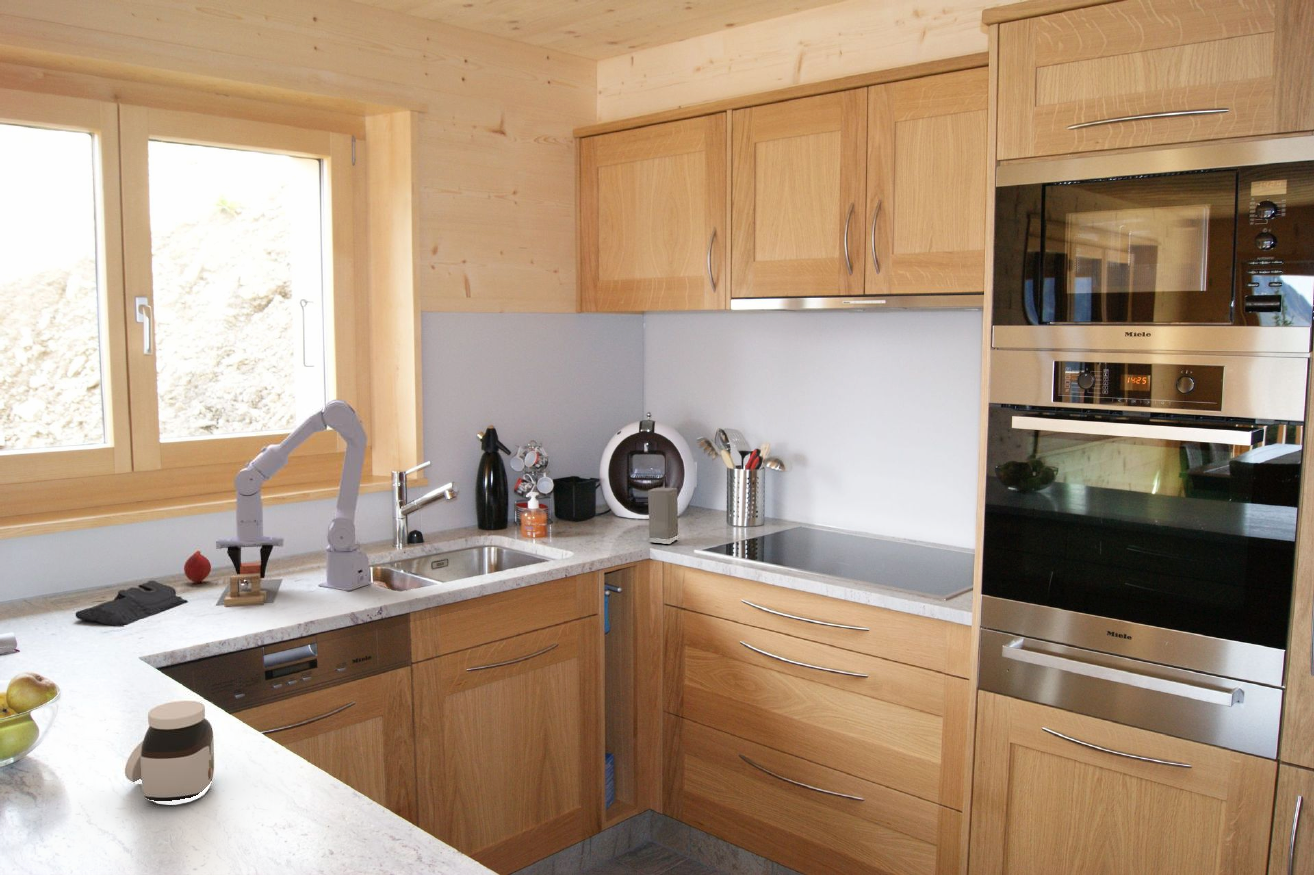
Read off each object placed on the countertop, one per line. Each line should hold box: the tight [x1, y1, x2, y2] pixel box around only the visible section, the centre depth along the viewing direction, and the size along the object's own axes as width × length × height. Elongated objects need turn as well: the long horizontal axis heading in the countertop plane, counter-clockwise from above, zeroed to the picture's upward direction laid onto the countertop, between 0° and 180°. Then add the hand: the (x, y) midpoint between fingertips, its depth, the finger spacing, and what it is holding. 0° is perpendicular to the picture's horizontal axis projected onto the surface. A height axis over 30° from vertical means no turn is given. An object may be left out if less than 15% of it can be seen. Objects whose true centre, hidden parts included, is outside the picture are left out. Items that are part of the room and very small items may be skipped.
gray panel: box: [215, 578, 283, 606], centre depth 241 cm, size 22×12×1 cm, turn 15°
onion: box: [183, 549, 212, 584], centre depth 248 cm, size 6×6×8 cm
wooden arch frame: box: [223, 573, 266, 607], centre depth 232 cm, size 6×8×6 cm
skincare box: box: [647, 487, 679, 539], centre depth 302 cm, size 8×7×16 cm
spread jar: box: [124, 700, 215, 801], centre depth 139 cm, size 12×11×12 cm
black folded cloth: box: [75, 580, 189, 626], centre depth 224 cm, size 15×22×5 cm
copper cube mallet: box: [239, 561, 263, 591], centre depth 236 cm, size 16×4×4 cm, turn 15°
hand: (251, 577), depth 242 cm, fingers closed on copper cube mallet, 4 cm apart
